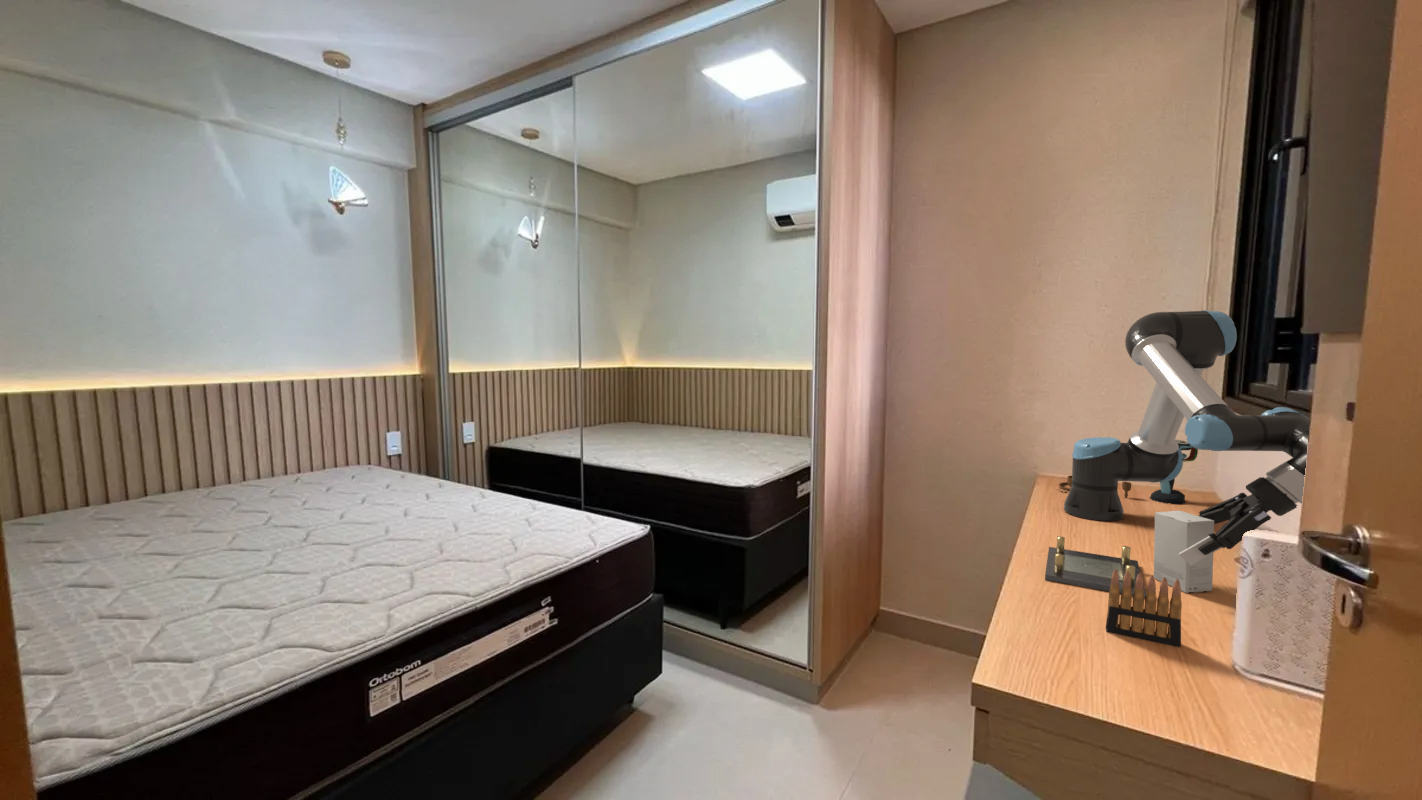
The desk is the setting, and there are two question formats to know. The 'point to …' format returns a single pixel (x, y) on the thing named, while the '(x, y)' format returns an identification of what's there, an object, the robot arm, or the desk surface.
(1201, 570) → the skincare box
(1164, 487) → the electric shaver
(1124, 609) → the ammunition clip
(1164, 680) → the desk surface
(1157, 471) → the robot arm
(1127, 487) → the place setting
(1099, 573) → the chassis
